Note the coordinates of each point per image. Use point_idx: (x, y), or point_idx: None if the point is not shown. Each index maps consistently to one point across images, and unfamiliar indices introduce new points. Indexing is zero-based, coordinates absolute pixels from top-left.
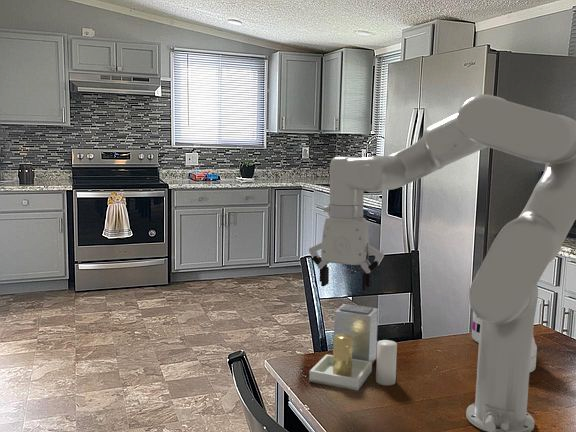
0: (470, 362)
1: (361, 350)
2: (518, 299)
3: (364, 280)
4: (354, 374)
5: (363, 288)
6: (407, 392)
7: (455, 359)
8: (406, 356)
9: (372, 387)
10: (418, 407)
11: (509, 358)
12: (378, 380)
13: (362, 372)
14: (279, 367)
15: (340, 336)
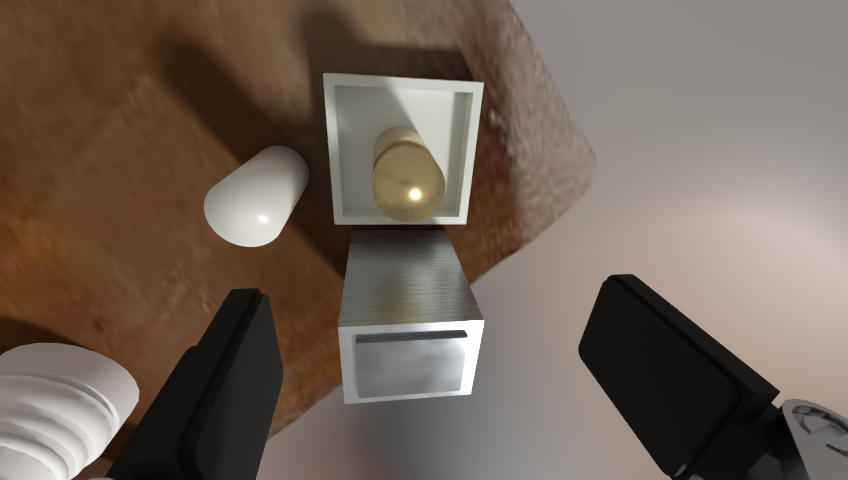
0: (146, 358)
1: (372, 252)
2: None
3: (198, 364)
4: (368, 166)
5: (245, 298)
6: (196, 123)
7: None
8: (294, 330)
9: (298, 116)
10: (112, 22)
11: None
12: (292, 152)
13: (332, 139)
14: (569, 143)
15: (420, 189)
